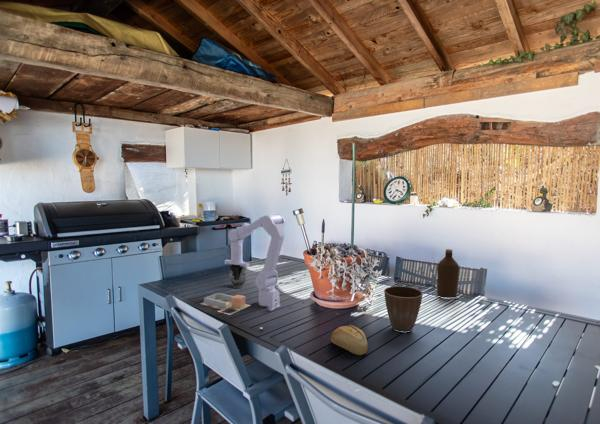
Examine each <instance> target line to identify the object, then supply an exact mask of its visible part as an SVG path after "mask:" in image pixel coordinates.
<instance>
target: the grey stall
mask: <svg viewBox="0 0 600 424" xmlns="http://www.w3.org/2000/svg"><path fill="white" fill-rule="evenodd" d="M234 296H235V295H230V294H226V293H222V292H216V293H213V294H211V295H208V296H205V297H203V302H204V303H206V304H210V305H214V306H217V307H221V308H226V302H222V301H218V300H215V299H222V300H226V301H231V302H232V297H234Z"/></svg>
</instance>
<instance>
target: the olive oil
mask: <svg viewBox="0 0 600 424" xmlns="http://www.w3.org/2000/svg"><path fill="white" fill-rule="evenodd" d="M459 265H460V264H458V262H457V260H455V259H454V258H453V249H450V248H447V249H445V255H444V258H442V259H441V260H440V261H439V262H438V264H437V266H436V267H437V268H436V269H437V271H436V274H437V275H436V278H437V279H436V280H437V281H436V284H437V286H436V287H437V288H436V290H437V291H436V296H437V295H438V296H441V297H456V296H458V295H457V294H458V284H459V274H460V266H459ZM438 296H437V297H438ZM456 298H457V297H456Z"/></svg>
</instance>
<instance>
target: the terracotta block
mask: <svg viewBox="0 0 600 424" xmlns="http://www.w3.org/2000/svg"><path fill="white" fill-rule="evenodd" d="M233 296H234V297H232V307H233V308H240V309H241V308H242V307H244V306H245V304H246V296H245V295H242V294H241V295H240V294H236V295H233Z"/></svg>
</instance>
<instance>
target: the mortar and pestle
mask: <svg viewBox="0 0 600 424" xmlns="http://www.w3.org/2000/svg"><path fill="white" fill-rule="evenodd" d="M246 272H247V268H245V267H243V269H242V271H241V274H240V277H239V280H234V276H233V273H232V272H231V273H230V274H229V275H228V276H229V281H230V283H231V284H232V287H233V288H234V289H242V288H244V287H245V283H246V282H247V279H248V273H246Z"/></svg>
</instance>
